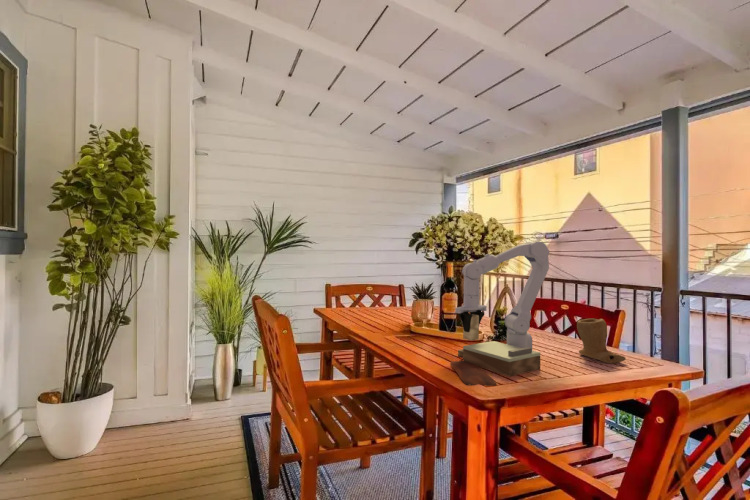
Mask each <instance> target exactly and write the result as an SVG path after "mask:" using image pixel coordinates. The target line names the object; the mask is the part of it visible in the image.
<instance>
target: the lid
mask: <svg viewBox="0 0 750 500" xmlns="http://www.w3.org/2000/svg"><path fill="white" fill-rule="evenodd" d="M462 349H466V350H469V351H473V352H476V353H480V354H483V355H487V356H490V357H494V358H497V359H500V360H504V361H507V362H512V361H517V360H521V359H526V358H531V357H535V356H540V357H541V352H540V351H535V350H533V347H532V348H529V347H526V348H520V347H516V346H512V345H508V344H507V343H503V342H499V341H497V340H496V341H495V340H492V341H486V342H480V343H472V344H468V345H463V347H462Z"/></svg>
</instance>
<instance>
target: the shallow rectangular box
mask: <svg viewBox="0 0 750 500" xmlns="http://www.w3.org/2000/svg"><path fill="white" fill-rule="evenodd" d="M457 356H458V357H462V361H465V362H469V363H472V364H475V365H477V366H479V367H480V368H481V369H483V370H488V371H490V372H493V373H497V374H500V375H503V376H507V377H514V376H517V375H521V374H522V375H523V374H526V373H529V372H534V371H537V370H538V371H539V370H541V355H540V356H535V357H531V358H526V359H521V360H517V361H512V362H507V361H504V360H500V359H497V358H494V357H490V356H487V355H483V354H480V353H476V352H473V351H469V350H466V349H463V348H462V349H458V350H457Z"/></svg>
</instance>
